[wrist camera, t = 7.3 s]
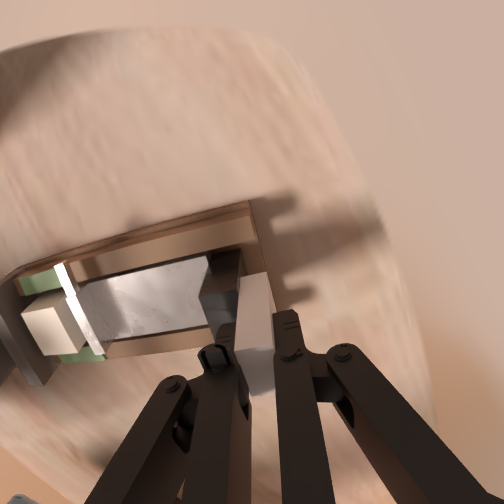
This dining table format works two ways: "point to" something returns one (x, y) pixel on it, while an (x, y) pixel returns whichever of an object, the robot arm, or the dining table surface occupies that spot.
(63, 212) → the dining table surface
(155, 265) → the grey sliding carriage
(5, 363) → the bottle
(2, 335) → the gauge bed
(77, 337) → the cream cube
